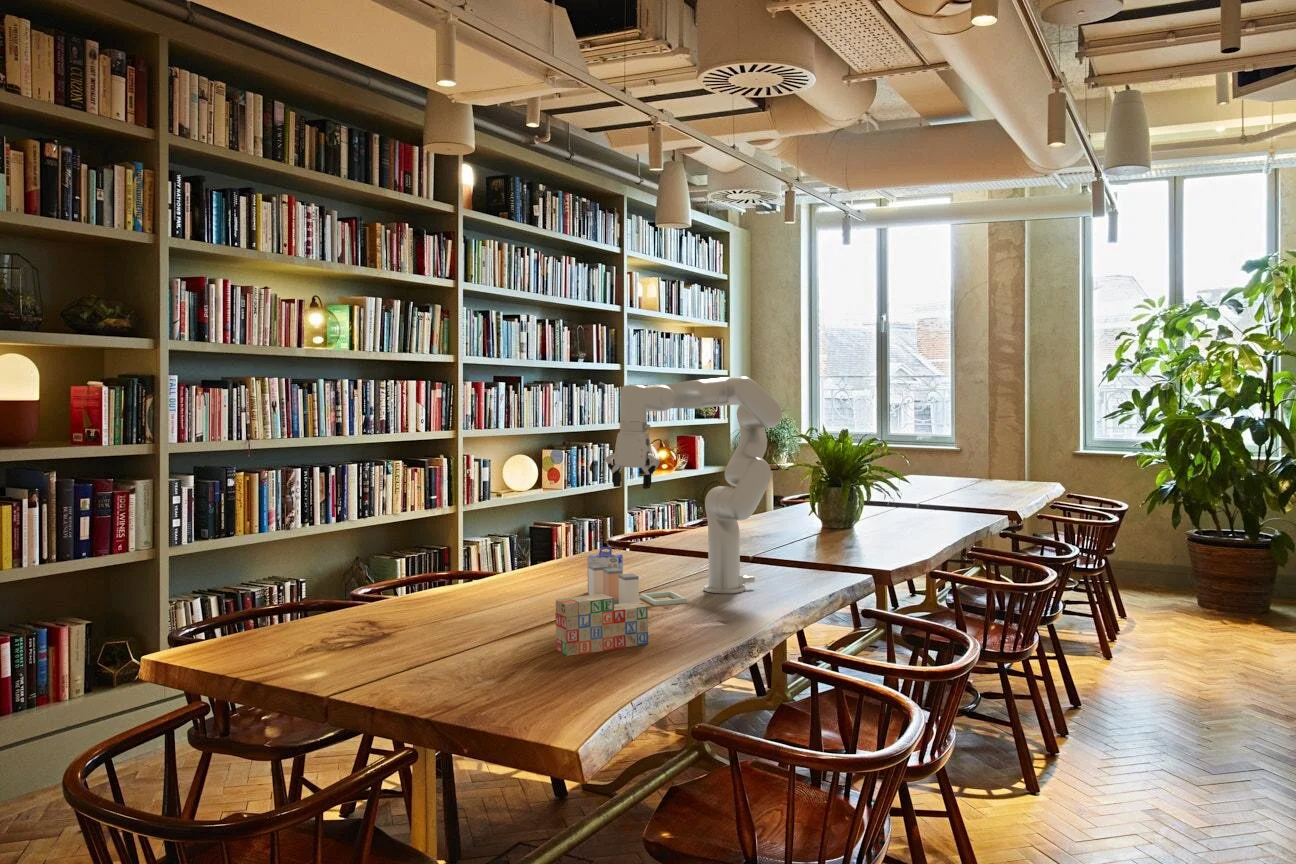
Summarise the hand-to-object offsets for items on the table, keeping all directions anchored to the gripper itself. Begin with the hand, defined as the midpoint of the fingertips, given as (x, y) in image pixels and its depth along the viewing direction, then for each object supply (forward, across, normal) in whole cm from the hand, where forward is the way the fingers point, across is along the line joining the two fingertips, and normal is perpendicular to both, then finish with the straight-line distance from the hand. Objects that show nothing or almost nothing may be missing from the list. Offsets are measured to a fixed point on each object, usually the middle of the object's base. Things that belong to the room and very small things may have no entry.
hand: (631, 487), depth 291 cm
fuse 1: (+32, +7, +5) cm, 34 cm away
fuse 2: (+32, -8, +15) cm, 37 cm away
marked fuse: (+32, 0, +10) cm, 34 cm away
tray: (+33, -11, -1) cm, 34 cm away
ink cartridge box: (+33, +11, -6) cm, 36 cm away
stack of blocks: (+35, -19, +49) cm, 63 cm away
